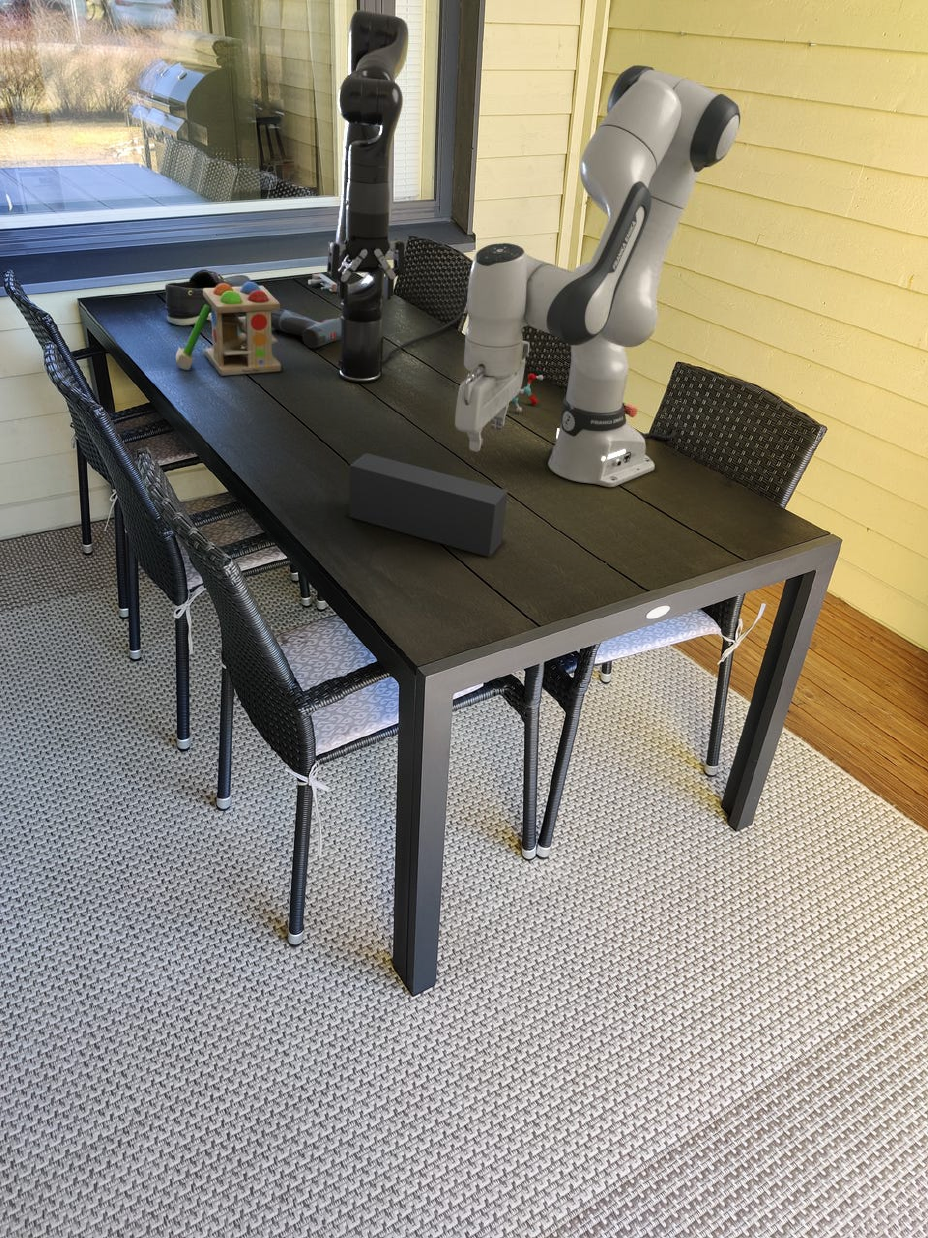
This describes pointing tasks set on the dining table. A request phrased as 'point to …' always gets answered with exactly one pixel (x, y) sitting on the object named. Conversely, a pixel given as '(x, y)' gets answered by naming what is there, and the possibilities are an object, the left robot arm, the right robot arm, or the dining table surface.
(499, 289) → the right robot arm
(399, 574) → the dining table surface
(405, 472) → the box
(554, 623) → the dining table surface
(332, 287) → the clamp
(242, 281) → the boat shoe
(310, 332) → the power drill
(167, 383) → the dining table surface
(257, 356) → the pounding bench toy
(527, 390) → the molecular model
